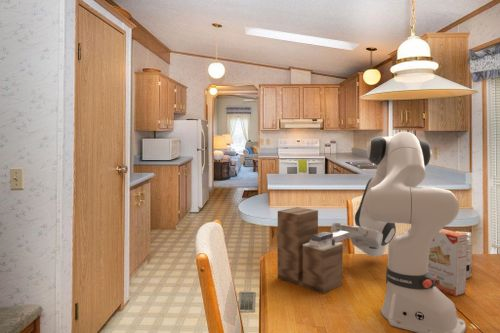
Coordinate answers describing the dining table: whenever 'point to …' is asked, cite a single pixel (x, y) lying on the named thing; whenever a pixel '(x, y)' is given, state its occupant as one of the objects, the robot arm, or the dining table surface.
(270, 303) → the dining table surface
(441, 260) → the cracker box
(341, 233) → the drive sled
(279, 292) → the dining table surface
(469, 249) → the supplement can
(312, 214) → the stepped wooden blocks
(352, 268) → the dining table surface
